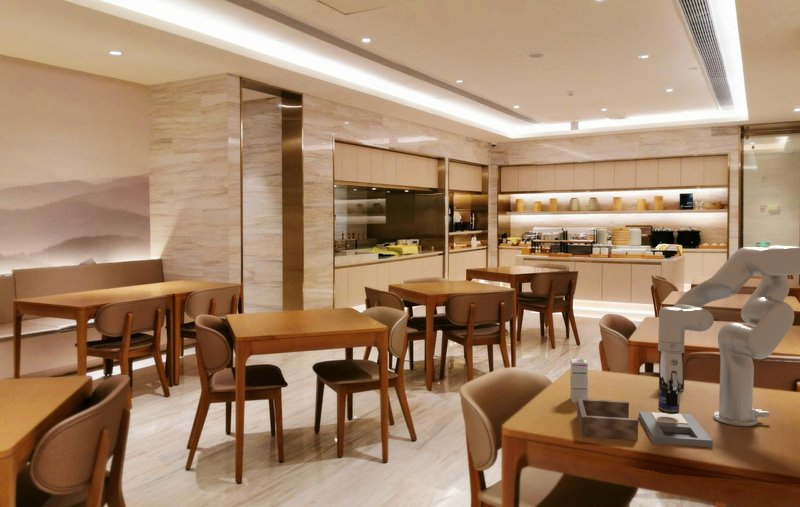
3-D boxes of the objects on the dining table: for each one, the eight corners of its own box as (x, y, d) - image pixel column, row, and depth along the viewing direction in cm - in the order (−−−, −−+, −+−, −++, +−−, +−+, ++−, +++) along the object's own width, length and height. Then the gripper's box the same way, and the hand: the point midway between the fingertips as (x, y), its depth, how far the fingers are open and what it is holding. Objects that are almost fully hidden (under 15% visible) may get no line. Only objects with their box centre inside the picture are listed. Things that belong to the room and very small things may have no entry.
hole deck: (691, 420, 200) (691, 413, 200) (712, 447, 177) (712, 439, 176) (638, 417, 203) (639, 410, 203) (653, 443, 180) (653, 435, 180)
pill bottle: (654, 409, 198) (655, 375, 197) (669, 407, 199) (670, 374, 199) (667, 415, 192) (668, 380, 191) (683, 413, 194) (684, 379, 193)
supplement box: (684, 388, 237) (685, 348, 236) (682, 391, 232) (683, 350, 231) (660, 385, 241) (661, 345, 240) (658, 388, 237) (659, 347, 236)
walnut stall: (627, 419, 201) (628, 401, 200) (637, 440, 182) (638, 420, 182) (576, 416, 204) (577, 398, 204) (581, 436, 185) (581, 416, 185)
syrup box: (588, 403, 218) (588, 362, 217) (570, 402, 219) (571, 362, 219) (586, 398, 224) (587, 359, 223) (569, 397, 225) (570, 358, 224)
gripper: (690, 352, 185) (688, 411, 186) (677, 341, 202) (675, 395, 203) (664, 351, 187) (662, 410, 188) (653, 340, 204) (651, 394, 205)
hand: (669, 402), depth 195 cm, fingers closed on pill bottle, 6 cm apart
